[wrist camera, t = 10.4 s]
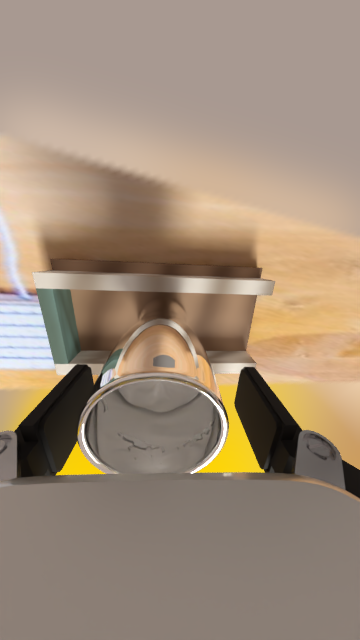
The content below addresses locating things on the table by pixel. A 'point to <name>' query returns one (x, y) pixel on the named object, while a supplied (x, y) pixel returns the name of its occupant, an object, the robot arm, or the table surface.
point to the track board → (133, 294)
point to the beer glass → (154, 400)
